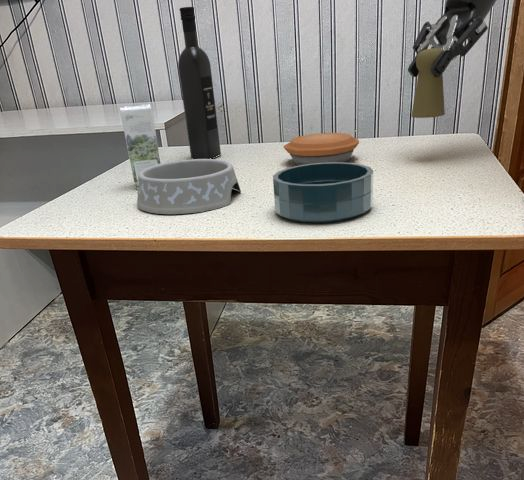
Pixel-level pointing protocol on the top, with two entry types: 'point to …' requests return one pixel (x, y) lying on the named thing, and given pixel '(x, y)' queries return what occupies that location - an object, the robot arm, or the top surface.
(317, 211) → the bowl
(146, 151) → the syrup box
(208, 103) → the wine bottle
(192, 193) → the dog bowl
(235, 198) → the top surface
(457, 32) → the robot arm
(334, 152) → the pie
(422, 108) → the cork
